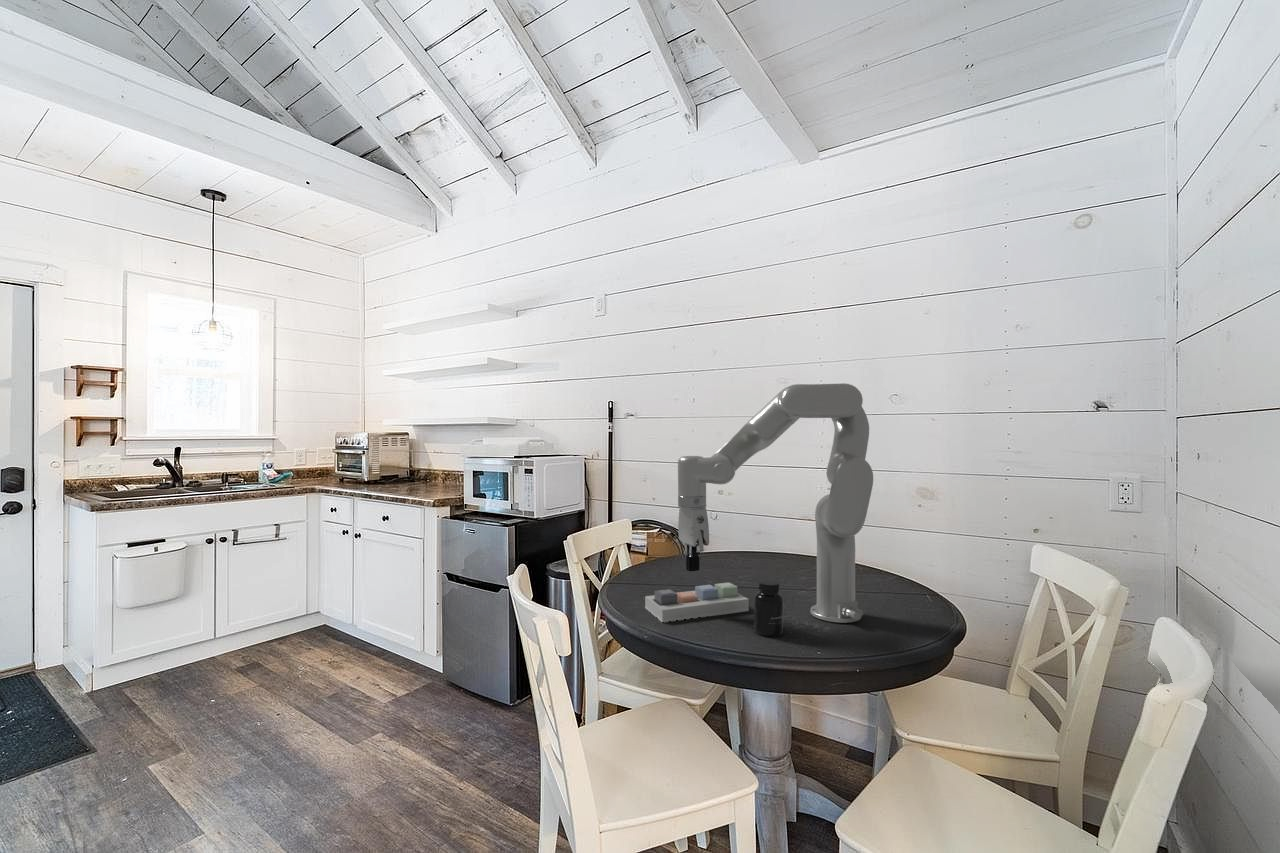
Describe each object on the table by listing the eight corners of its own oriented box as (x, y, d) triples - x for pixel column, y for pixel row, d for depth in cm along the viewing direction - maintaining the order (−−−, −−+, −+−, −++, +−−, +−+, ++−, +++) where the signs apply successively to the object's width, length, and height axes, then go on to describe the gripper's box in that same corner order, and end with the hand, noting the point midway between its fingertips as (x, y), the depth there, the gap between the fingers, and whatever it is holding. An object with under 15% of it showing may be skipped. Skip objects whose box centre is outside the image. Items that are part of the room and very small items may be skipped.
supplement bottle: (777, 639, 134) (777, 588, 134) (750, 633, 137) (750, 583, 137) (787, 630, 140) (787, 581, 139) (760, 625, 143) (760, 577, 143)
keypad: (748, 610, 154) (748, 599, 154) (662, 622, 145) (662, 610, 145) (726, 597, 165) (726, 586, 165) (645, 608, 156) (645, 596, 156)
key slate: (718, 600, 155) (718, 588, 155) (702, 602, 153) (702, 590, 153) (710, 595, 159) (710, 584, 159) (695, 597, 157) (695, 585, 157)
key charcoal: (677, 605, 151) (677, 593, 150) (661, 607, 149) (661, 595, 149) (670, 600, 155) (670, 588, 155) (654, 602, 153) (654, 590, 153)
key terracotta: (697, 607, 153) (697, 595, 153) (682, 609, 151) (682, 597, 151) (690, 602, 157) (690, 591, 157) (675, 604, 155) (675, 592, 155)
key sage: (737, 597, 157) (737, 586, 157) (722, 599, 155) (722, 588, 155) (729, 593, 161) (729, 581, 161) (714, 594, 160) (714, 583, 159)
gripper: (718, 505, 149) (718, 575, 149) (692, 497, 163) (693, 562, 163) (691, 506, 146) (692, 578, 146) (668, 499, 160) (668, 565, 160)
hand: (692, 570), depth 154 cm, fingers closed
